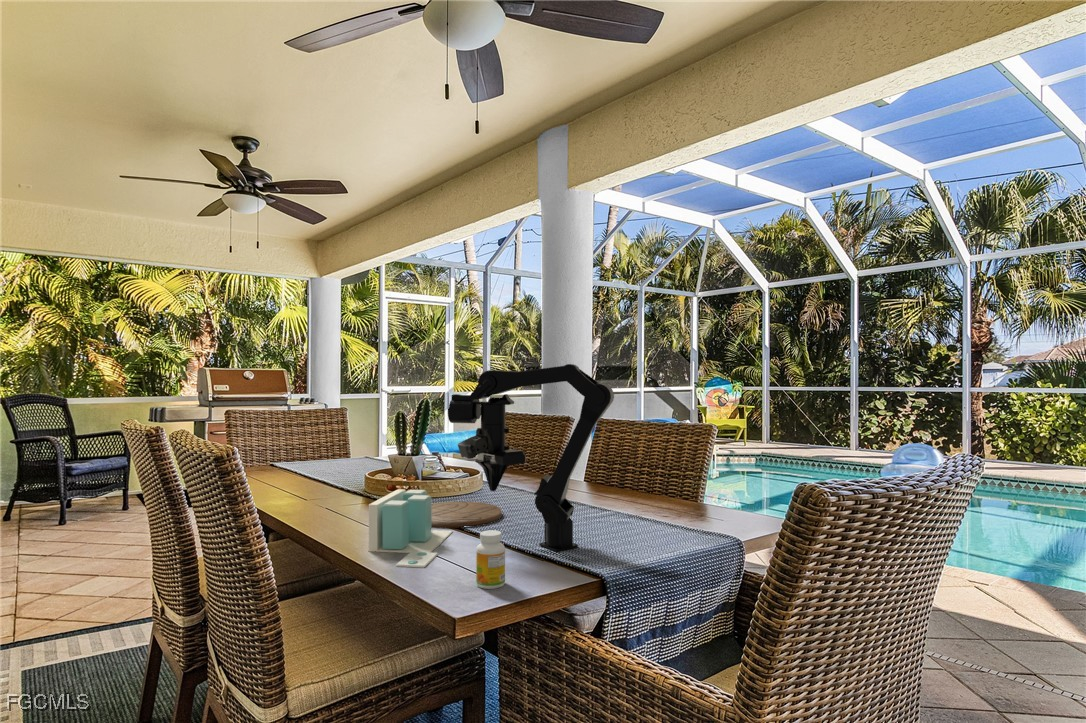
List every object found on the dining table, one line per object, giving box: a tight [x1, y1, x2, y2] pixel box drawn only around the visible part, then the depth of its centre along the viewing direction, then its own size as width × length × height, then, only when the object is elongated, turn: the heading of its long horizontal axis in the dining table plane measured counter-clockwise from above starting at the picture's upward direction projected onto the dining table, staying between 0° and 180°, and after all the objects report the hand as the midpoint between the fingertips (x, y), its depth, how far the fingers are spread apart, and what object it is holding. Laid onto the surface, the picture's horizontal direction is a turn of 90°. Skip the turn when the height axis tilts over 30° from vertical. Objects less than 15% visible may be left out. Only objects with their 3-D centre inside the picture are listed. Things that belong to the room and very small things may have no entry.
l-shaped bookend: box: [368, 488, 454, 554], centre depth 150 cm, size 14×18×10 cm
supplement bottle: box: [475, 529, 506, 590], centre depth 120 cm, size 5×5×10 cm
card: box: [395, 552, 439, 568], centre depth 135 cm, size 6×9×1 cm, turn 172°
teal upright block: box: [407, 494, 432, 542], centre depth 150 cm, size 4×4×10 cm
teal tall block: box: [383, 500, 409, 549], centre depth 144 cm, size 4×4×10 cm
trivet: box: [431, 501, 502, 529], centre depth 175 cm, size 25×25×2 cm
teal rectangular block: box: [403, 489, 428, 501], centre depth 157 cm, size 4×4×10 cm
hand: (492, 490), depth 149 cm, fingers closed
